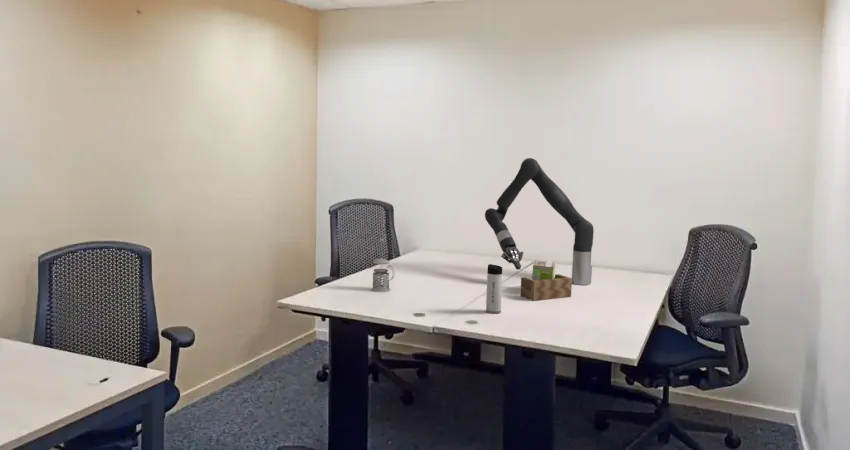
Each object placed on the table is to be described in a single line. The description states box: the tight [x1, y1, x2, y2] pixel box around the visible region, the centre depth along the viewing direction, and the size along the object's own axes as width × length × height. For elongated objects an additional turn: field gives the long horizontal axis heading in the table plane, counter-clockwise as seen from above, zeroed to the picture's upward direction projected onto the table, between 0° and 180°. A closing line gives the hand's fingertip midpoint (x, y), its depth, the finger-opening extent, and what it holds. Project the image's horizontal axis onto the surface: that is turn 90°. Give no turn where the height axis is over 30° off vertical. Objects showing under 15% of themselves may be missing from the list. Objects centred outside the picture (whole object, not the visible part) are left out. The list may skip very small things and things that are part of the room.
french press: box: [370, 238, 395, 293], centre depth 305 cm, size 10×12×25 cm
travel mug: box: [485, 263, 503, 315], centre depth 269 cm, size 6×7×20 cm
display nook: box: [520, 273, 573, 302], centre depth 300 cm, size 22×10×9 cm, turn 118°
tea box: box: [531, 260, 556, 281], centre depth 307 cm, size 15×10×15 cm
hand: (519, 268), depth 318 cm, fingers closed
